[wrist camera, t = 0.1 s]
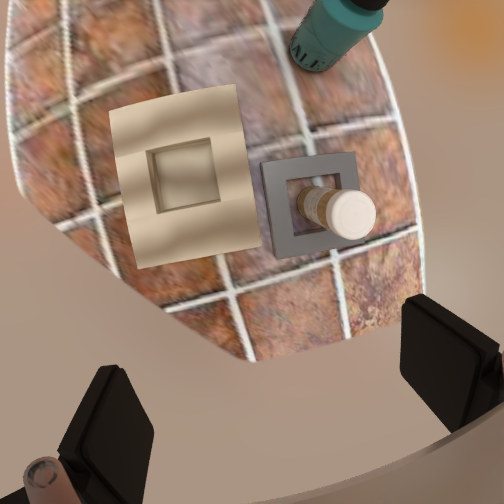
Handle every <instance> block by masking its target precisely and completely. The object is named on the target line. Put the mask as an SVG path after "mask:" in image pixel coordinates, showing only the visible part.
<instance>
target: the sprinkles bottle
mask: <svg viewBox="0 0 504 504" xmlns="http://www.w3.org/2000/svg"><path fill="white" fill-rule="evenodd" d="M297 207H298V210H299V212H300V214H301V215H302V216H303V217H305V218H306V219H309V220H311V221H313V222H315V223H317V224H319V225H321V226H323V227H325V228H327V229H330V230H332V231H333V232H334V233H335V234H337V235H338V236H341V237H343V238H345V239H349V240H357V239H360V238H362V237H364V236H366V235H367V234H368V233H369V232H370V231H371V229H372V228H373V226H374V223H375V219H376V210H375V206H374V203H373V201H372V200H371V199H370V197H369V196H368V195H366V194H365V193H363V192H361V191H357V190H351V189H345V190H338V189H333V188H326V187H319V186H310V187H307V188H305V189H304V190H303V191H302V192H301V193H300V194H299V196H298V199H297Z"/></svg>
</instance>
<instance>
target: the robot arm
mask: <svg viewBox="0 0 504 504" xmlns="http://www.w3.org/2000/svg"><path fill="white" fill-rule="evenodd" d="M401 326H402V327H401V352H400V372H401V375H402V376H403V378H404V379H405V380H406V381H407V382H408V383H409V385H410V386H411V387H412V388H413V389H414V390H415V391H416V393H417V394H418V395H419V396H420V397H421V398H422V400H423V401H424V402H425V403H426V404H427V405H428V407H429V408H430V409H431V410H432V411H433V412H434V414H435V415H436V416H437V417H438V418H439V420H440V421H441V422H442V423H443V424H444V425H445V427H446V428H447V429H448V430H449V431H450V432H451V433H452V434H450V435H449V436H446V437H444V438H443V439H441V440H439V441H437V442H435V443H433V444H431V445H430V446H427V447H425V448H423V449H421V450H419V451H417V452H415V453H413V454H411V455H408V456H406V457H404V458H402V459H400V460H397V461H395V462H392V463H390V464H388V465H385V466H383V467H380V468H378V469H375V470H372V471H370V472H367V473H364V474H362V475H359V476H356V477H353V478H350V479H347V480H344V481H341V482H338V483H335V484H332V485H328V486H325V487H321V488H318V489H315V490H310V491H307V492H303V493H298V494H294V495H290V496H286V497H282V498H276V499H271V500H266V501H260V502H255V503H248V504H504V351H503V353H502V354H501V353H500V352H498V351H499V346H500V344H498V343H497V342H495V341H494V340H492V339H491V338H489V337H488V336H487V335H485V334H484V333H482V332H480V331H479V330H478V329H476V328H475V327H473V326H472V325H470V324H469V323H467V322H466V321H464V320H462V319H461V318H460V317H458V316H457V315H455V314H454V313H452V312H451V311H449V310H447V309H446V308H444V307H443V306H441V305H440V304H438V303H436V302H435V301H433V300H432V299H430V298H429V297H427V296H425V295H424V294H418V295H415V296H412V297H409V298H407V299H406V301H405V303H404V304H403V305H402V322H401ZM153 438H154V429H153V426H152V424H151V422H150V420H149V418H148V416H147V414H146V413H145V411H144V409H143V407H142V405H141V403H140V401H139V399H138V397H137V395H136V393H135V391H134V389H133V387H132V385H131V383H130V380H129V378H128V376H127V374H126V372H125V370H124V369H123V368H119V367H118V365H109V366H101V367H100V368H99V369H98V371H97V373H96V375H95V376H94V378H93V380H92V382H91V384H90V386H89V388H88V390H87V392H86V393H85V395H84V397H83V399H82V401H81V403H80V405H79V407H78V409H77V411H76V413H75V415H74V417H73V419H72V421H71V423H70V425H69V427H68V429H67V431H66V433H65V435H64V437H63V439H62V441H61V443H60V445H59V448H58V450H57V451H58V452H59V454H60V456H59V458H58V459H56V458H54V457H41V458H38V459H36V460H35V461H33V462H32V463H31V464H30V465H28V466H27V468H26V470H25V472H24V475H23V482H24V486H25V487H23V488H21V489H19V490H17V491H15V492H13V493H11V494H9V495H7V496H5V497H3V498H1V499H0V504H142V502H143V496H144V489H145V483H146V477H147V471H148V466H149V460H150V455H151V449H152V443H153Z"/></svg>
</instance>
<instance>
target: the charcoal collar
mask: <svg viewBox="0 0 504 504" xmlns="http://www.w3.org/2000/svg"><path fill="white" fill-rule="evenodd" d="M260 167H261V173H262V179H263V185H264V191H265V198H266V204H267V210H268V217H269V223H270V230H271V236H272V243H273V250H274V256H275V257H276V259H277V260H278V259H284V258H289V257H294V256H299V255H305V254H310V253H315V252H320V251H325V250H330V249H336V248H341V247H346V246H351V245H356V244H361V243H365V239H364V237H362V238H360V239H357V240H349V239H345V238H343V237H341V236H338V235H337V234H335V233H334V232H333V231H332V230H330V229H327V228H320V229H314V230H309V231H303V232H297V233H294V232H293V225H292V218H291V211H290V204H289V197H288V190H287V184H286V180H289V179H296V178H303V177H311V176H318V175H326V174H334V175H335V182H336V189H338V190H345V189H351V190H357V191H360V187H359V179H358V171H357V164H356V157H355V152H344V153H333V154H324V155H315V156H306V157H298V158H290V159H283V160H276V161H269V162H262V163H260Z"/></svg>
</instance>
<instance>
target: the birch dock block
mask: <svg viewBox="0 0 504 504" xmlns="http://www.w3.org/2000/svg"><path fill="white" fill-rule="evenodd" d="M109 117H110V125H111V133H112V140H113V147H114V154H115V161H116V167H117V173H118V179H119V184H120V190H121V195H122V200H123V205H124V210H125V215H126V220H127V225H128V229H129V234H130V238H131V242H132V247H133V251H134V255H135V259H136V263H137V267H138V269H142V268H147V267H152V266H158V265H163V264H168V263H174V262H179V261H185V260H190V259H195V258H201V257H206V256H212V255H217V254H222V253H228V252H233V251H239V250H244V249H250V248H255V247H261V246H262V243H261V237H260V231H259V224H258V218H257V212H256V206H255V200H254V194H253V187H252V181H251V175H250V169H249V163H248V157H247V151H246V145H245V139H244V133H243V127H242V122H241V116H240V110H239V104H238V98H237V92H236V87H235V84H229V85H222V86H216V87H210V88H204V89H198V90H193V91H188V92H183V93H178V94H173V95H169V96H164V97H160V98H156V99H151V100H147V101H143V102H140V103H136V104H132V105H128V106H125V107H121V108H118V109H114V110H111V111H109Z"/></svg>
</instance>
